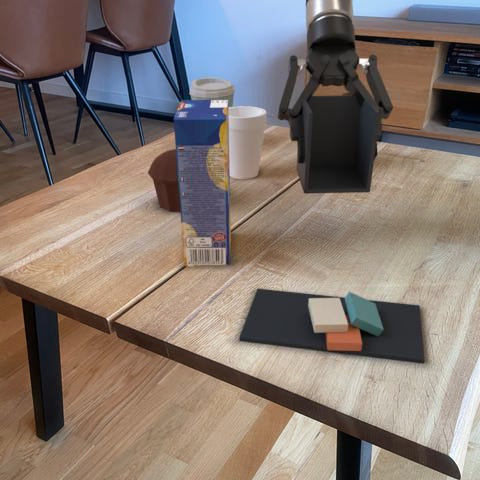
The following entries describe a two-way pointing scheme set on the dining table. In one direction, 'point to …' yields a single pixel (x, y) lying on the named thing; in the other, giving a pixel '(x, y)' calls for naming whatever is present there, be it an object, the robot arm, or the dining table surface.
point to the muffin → (166, 180)
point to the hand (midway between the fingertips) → (337, 158)
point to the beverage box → (204, 180)
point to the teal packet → (363, 314)
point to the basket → (338, 144)
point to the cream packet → (327, 315)
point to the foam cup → (245, 140)
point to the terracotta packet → (345, 339)
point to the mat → (302, 333)
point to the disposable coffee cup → (212, 90)
